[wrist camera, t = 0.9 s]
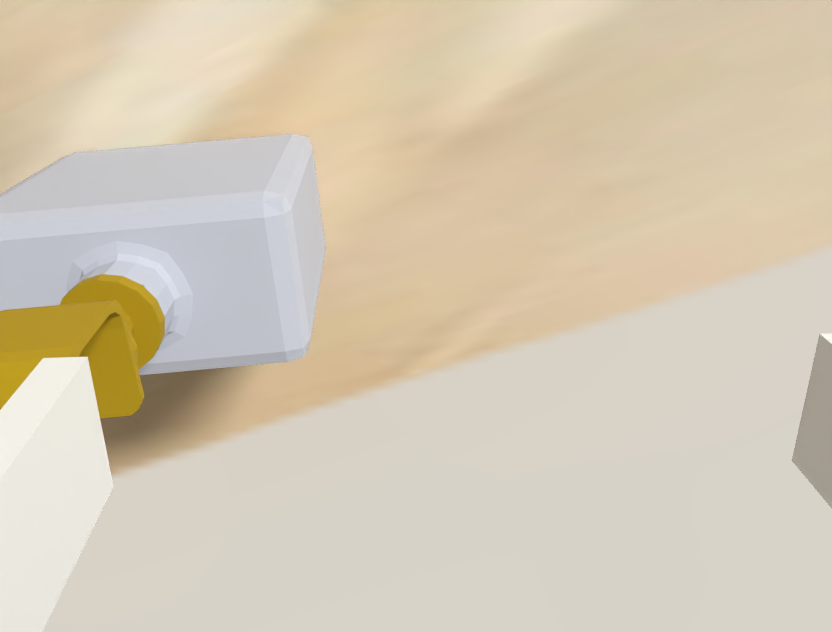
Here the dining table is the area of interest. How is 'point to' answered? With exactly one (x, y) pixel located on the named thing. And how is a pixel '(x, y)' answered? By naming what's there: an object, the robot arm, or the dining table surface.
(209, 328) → the soap bottle
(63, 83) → the dining table surface
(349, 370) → the dining table surface
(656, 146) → the dining table surface
